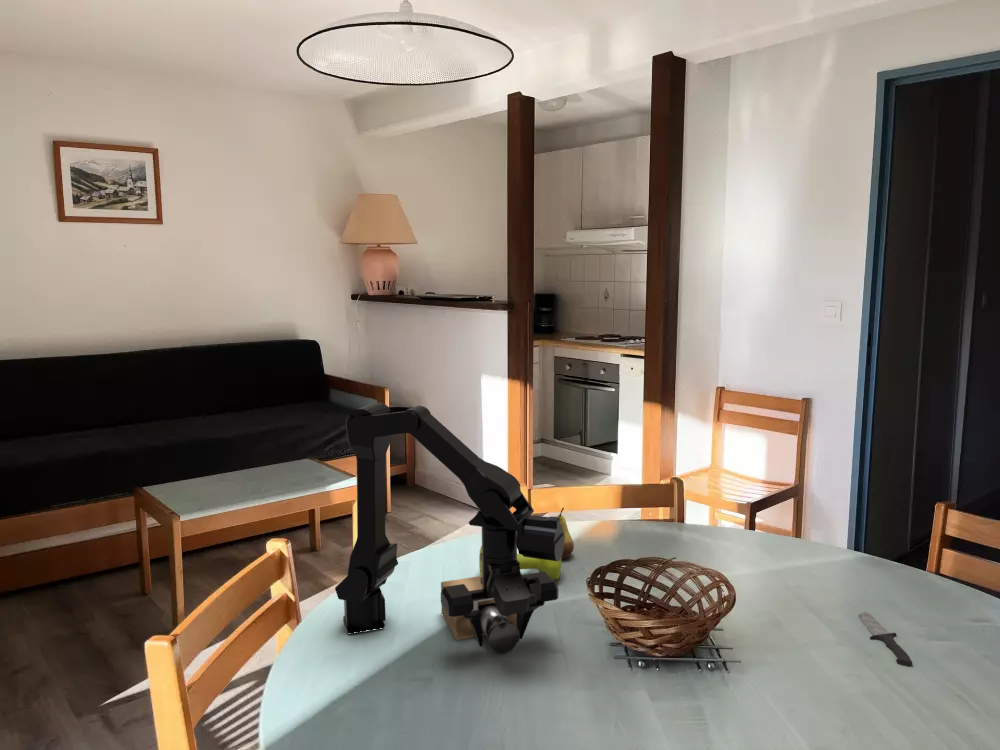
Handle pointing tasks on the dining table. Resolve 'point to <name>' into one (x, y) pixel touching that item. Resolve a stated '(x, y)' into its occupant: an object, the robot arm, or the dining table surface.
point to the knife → (884, 637)
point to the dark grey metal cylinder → (498, 629)
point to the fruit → (566, 537)
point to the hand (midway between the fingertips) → (500, 641)
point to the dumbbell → (535, 565)
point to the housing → (459, 624)
